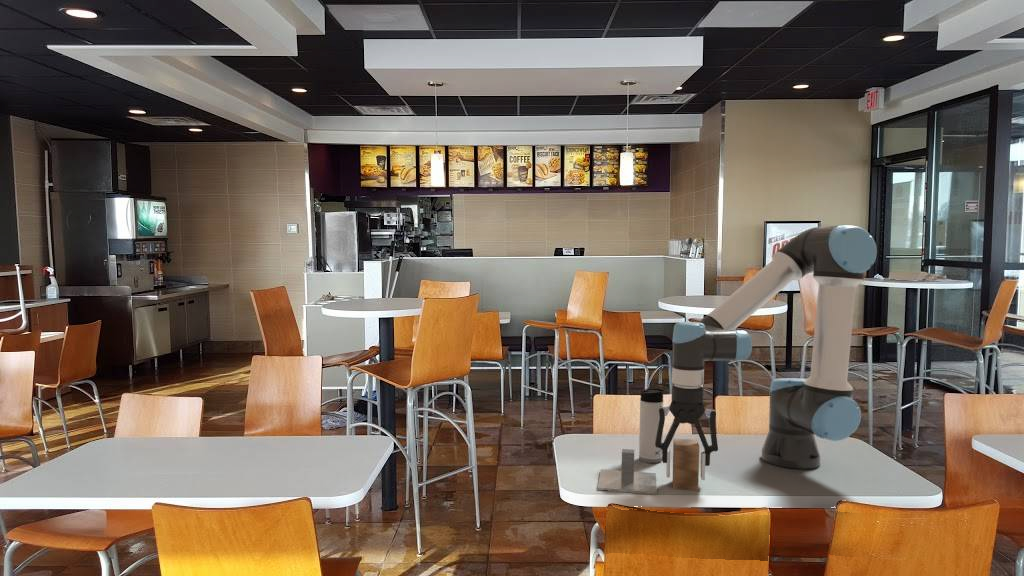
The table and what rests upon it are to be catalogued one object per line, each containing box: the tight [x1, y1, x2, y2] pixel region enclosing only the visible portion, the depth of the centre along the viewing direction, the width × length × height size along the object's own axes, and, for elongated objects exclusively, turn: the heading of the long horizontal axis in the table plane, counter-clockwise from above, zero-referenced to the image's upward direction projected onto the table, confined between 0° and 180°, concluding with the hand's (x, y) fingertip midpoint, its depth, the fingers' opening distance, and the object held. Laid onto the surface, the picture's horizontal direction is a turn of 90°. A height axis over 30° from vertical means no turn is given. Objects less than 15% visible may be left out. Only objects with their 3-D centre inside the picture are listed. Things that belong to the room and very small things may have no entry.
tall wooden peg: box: [672, 438, 700, 491], centre depth 165 cm, size 6×6×11 cm
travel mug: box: [638, 387, 666, 464], centre depth 185 cm, size 6×7×20 cm
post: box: [596, 448, 658, 495], centre depth 167 cm, size 14×14×8 cm
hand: (685, 476), depth 165 cm, fingers open, 8 cm apart
